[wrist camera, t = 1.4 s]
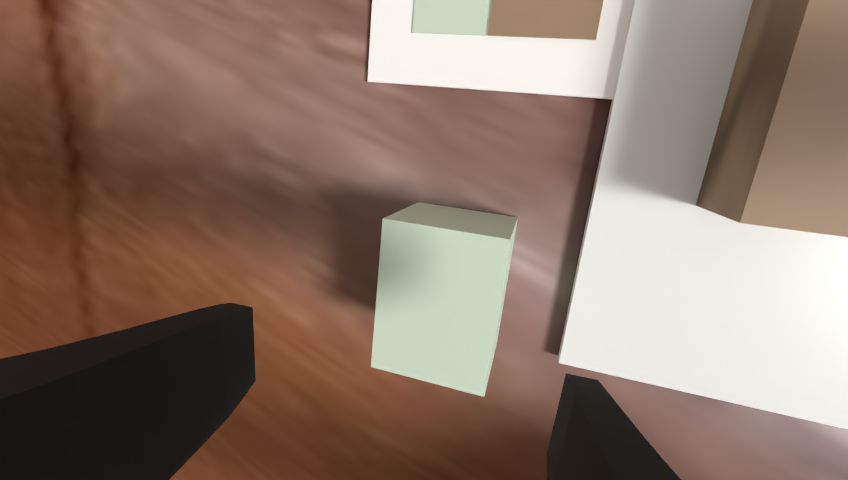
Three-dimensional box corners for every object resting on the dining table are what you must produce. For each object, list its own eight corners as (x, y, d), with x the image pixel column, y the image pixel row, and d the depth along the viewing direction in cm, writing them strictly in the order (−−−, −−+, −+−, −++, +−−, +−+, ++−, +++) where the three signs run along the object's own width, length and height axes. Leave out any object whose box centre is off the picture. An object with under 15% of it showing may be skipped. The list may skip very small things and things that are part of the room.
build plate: (956, 446, 15) (973, 458, 14) (558, 355, 18) (558, 362, 17) (1276, -153, 10) (1320, -171, 9) (658, -121, 13) (662, -132, 13)
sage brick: (497, 340, 19) (484, 397, 15) (407, 320, 20) (370, 366, 16) (517, 216, 17) (510, 239, 13) (419, 201, 18) (382, 218, 14)
